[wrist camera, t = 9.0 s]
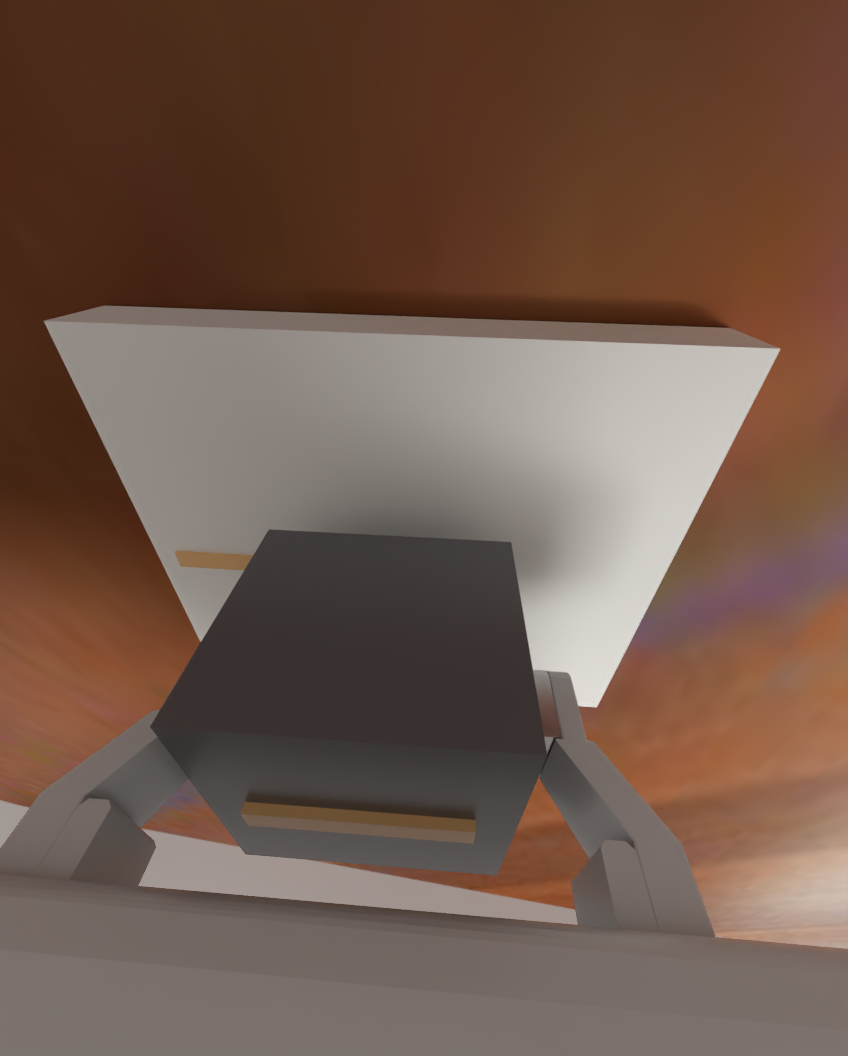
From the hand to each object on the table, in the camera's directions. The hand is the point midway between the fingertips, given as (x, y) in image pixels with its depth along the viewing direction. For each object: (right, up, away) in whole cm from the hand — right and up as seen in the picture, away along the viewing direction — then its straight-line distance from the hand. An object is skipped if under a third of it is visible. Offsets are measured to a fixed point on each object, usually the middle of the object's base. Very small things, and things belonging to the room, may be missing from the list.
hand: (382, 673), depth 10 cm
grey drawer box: (0, +1, +1) cm, 2 cm away
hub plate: (0, +3, +4) cm, 6 cm away
